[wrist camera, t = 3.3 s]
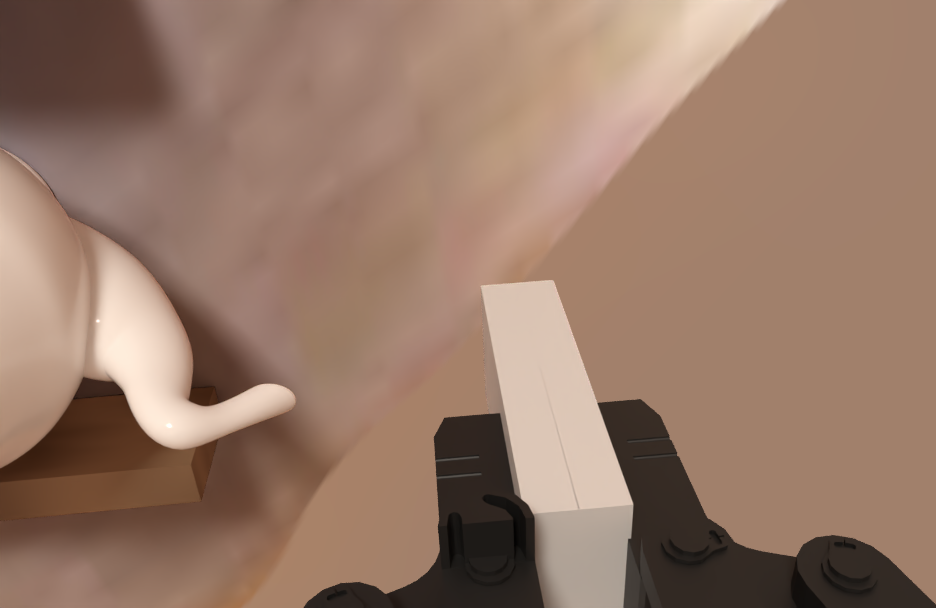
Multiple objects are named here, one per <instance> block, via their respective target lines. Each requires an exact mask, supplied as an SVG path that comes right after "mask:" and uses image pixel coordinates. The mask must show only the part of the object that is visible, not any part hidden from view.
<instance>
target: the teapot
mask: <svg viewBox="0 0 936 608" xmlns="http://www.w3.org/2000/svg"><path fill="white" fill-rule="evenodd" d="M83 377H84V378H89V379H94V380H100V381H109V382H115V383H116V384H117V385H118V386H119V387H120V388H121V389H122V390H123V392H124V394H125V396H126V399H127V402H128V404H129V407H130V409H131V411H132V414H133V416H134V417H135V419H136V421H137V422H138V424H139V425H140V427H141V428H142V429H143V431H144V432H145V433H146V434H147V435H148V436H149V437H150V438H152V439H153V440H154V441H155V442H157V443H159V444H161V445H163V446H164V447H168V448H171V449H177V450H185V449H191V448H195V447H198V446H201V445H204V444H207V443H209V442H212V441H214V440H216V439H218V438H221V437H223V436H225V435H228V434H230V433H233V432H235V431H238V430H240V429H243V428H246V427H248V426H251V425H253V424H256V423H259V422H261V421H264V420H267V419H270V418H272V417H275V416H278V415H281V414H283V413H286V412H288V411H290V410H291V409H292V408H293V407H294V406H295V404H296V397H295V395H294V393H293V392H292V391H291V390H289V389H288V388H286V387H284V386H281V385H277V384H261V385H257V386H254V387H252V388H250V389H248V390H247V391H245V392H243V393H241V394H239V395H237V396H235V397H233V398H231V399H228V400H226V401H224V402H221V403H218V404H215V405H212V406H201V405H198V404H195V403H192V402H190V401H189V397H190V391H191V385H192V377H193V354H192V348H191V345H190V341H189V338H188V336H187V333H186V331H185V328H184V326H183V324H182V322H181V320H180V318H179V316H178V314H177V312H176V311H175V309H174V307H173V305H172V303H171V302H170V300H169V298H168V297H167V295H166V294H165V292H164V290H163V289H162V288H161V286H160V285H159V283H158V282H157V281H156V279H155V278H154V277H153V275H152V274H151V273H150V272H149V271H148V270H147V269H146V268H145V266H144V265H143V264H142V263H141V262H140V261H139V260H138V259H137V258H135V257H134V256H133V255H132V254H131V253H129V252H128V251H127V250H126V249H125V248H123V247H122V246H120V245H119V244H117V243H116V242H114V241H113V240H111V239H110V238H108V237H107V236H105V235H103V234H102V233H100V232H98V231H96V230H95V229H93V228H91V227H89V226H87V225H85V224H83V223H81V222H79V221H77V220H75V219H73V218H70V217H68V215H67V213H66V212H65V210H64V209H63V208H62V206H61V205H60V203H59V202H58V201H57V199H56V198H55V197H54V195H53V193H52V191H51V190H50V188H49V187H48V185H47V184H46V183H45V181H44V180H43V179H42V178H41V177H40V175H39V174H38V173H37V172H36V171H35V170H33V169H32V168H31V167H30V166H29V165H28V164H26V163H25V162H24V161H22V160H21V159H20V158H18V157H17V156H15V155H13V154H12V153H10V152H8V151H6V150H4V149H2V148H0V468H2V467H4V466H6V465H8V464H10V463H11V462H13V461H15V460H16V459H18V458H19V457H21V456H22V455H24V454H25V453H26V452H28V451H29V450H30V449H32V448H33V447H34V446H35V445H36V444H37V443H39V442H40V441H41V440H42V439H43V438H44V437H45V436H46V435H47V434H48V433H49V432H50V431H51V429H52V428H53V427H54V426H55V425H56V423H57V422H58V421H59V420H60V418H61V417H62V416H63V414H64V413H65V411H66V410H67V408H68V406H69V405H70V403H71V401H72V400H73V398H74V396H75V394H76V392H77V390H78V388H79V386H80V384H81V382H82V379H83Z"/></svg>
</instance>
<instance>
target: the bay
mask: <svg viewBox="0 0 936 608" xmlns="http://www.w3.org/2000/svg"><path fill="white" fill-rule="evenodd" d="M189 401H190V402H192V403H195V404H198V405H201V406H212V405H215V404H218V400H217V396H216V392H215V387H205V388H193V389H191V391H190V397H189ZM217 441H218V439H216V440H214V441H212V442H209V443H207V444H204V445H201V446H198V447H195V448H191V449H185V450H177V449H171V448H168V447H164V446H163V445H161V444H159V443H157V442H155V441H154V440H153V439H152V438H150V437H149V436H148V435H147V434H146V433H145V432H144V431H143V429H142V428H141V427H140V425H139V424H138V422H137V421H136V419H135V417H134V416H133V414H132V411H131V409H130V407H129V404H128V402H127V399H126V396H125V395H115V396H104V397H92V398H81V399H73V400H72V401H71V403H70V405H69V406H68V408H67V410H66V411H65V413H64V414H63V416H62V417H61V418H60V420H59V421H58V422H57V423H56V425H55V426H54V427H53V428H52V429H51V431H50V432H49V433H48V434H47V435H46V436H45V437H44V438H43V439H42V440H41V441H40V442H39V443H37V444H36V445H35V446H34V447H33V448H32V449H30V450H29V451H28V452H26V453H25V454H24V455H22V456H21V457H19V458H18V459H16V460H15V461H13V462H11V463H10V464H8V465H6V466H4V467H2V468H0V521H5V520H15V519H26V518H36V517H46V516H57V515H67V514H77V513H88V512H98V511H108V510H119V509H129V508H140V507H150V506H160V505H171V504H181V503H191V502H201V500H202V497H203V493H204V489H205V486H206V482H207V478H208V474H209V471H210V467H211V463H212V460H213V456H214V452H215V449H216V445H217Z"/></svg>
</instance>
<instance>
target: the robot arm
mask: <svg viewBox="0 0 936 608" xmlns="http://www.w3.org/2000/svg"><path fill="white" fill-rule="evenodd" d="M481 300H482V322H483V345H484V366H485V390H486V398H487V405H488V411H489V414H483V415H472V416H460V417H448V418H444V420H443V422H442V424H441V425H440V427H439V429H438V431H437V433H436V434H435V436H434V443H435V444H434V445H435V461H436V476H437V492H438V507H439V524H438V533H439V544H440V552H439V555H438V557H437V559H436V562H435V563H434V565H433V566H432V567H431V568H430V570H429V571H428V572H427V573H426V574H425V575H423V576H422V577H421V578H420V579H418V580H417V581H415V582H413V583H411V584H410V585H407V586H405V587H403V588H400V589H398V590H395V591H393V592H390V593H388V594H384V593H383V592H382V591H381V590H379V589H378V588H377V587H375V586H371V585H368V584H364V583H360V582H354V583H340V584H338V585H335V586H332V587H329V588H327V589H324V590H322V591H321V592H320V593H318V594H317V595H316V596H314V597H313V598H312V599H311V600H309V601H308V602H307V603H306V605H305V607H304V608H936V604H935V603H934V602H932V601H931V599H929V598H928V597H927V596H926V595H925V594H924V593H923V592H922V591H921V590H920V589H919V588H918V587H917V586H916V585H915V584H914V583H913V582H912V581H911V580H910V579H909V578H908V577H907V576H906V575H905V574H904V573H903V572H902V571H901V570H900V569H899V568H898V567H897V566H896V565H895V564H894V563H893V562H892V561H891V560H890V559H889V558H887V557H886V556H884V555H883V554H882V553H880V552H879V551H878V550H876V549H875V548H874V547H872V546H870V545H868V544H865V543H863V542H861V541H858V540H856V539H853V538H848V537H841V536H835V535H831V536H823V537H816V538H814V539H812V540H810V541H809V542H807V543H805V544H803V546H802V547H801V549H800V551H799V553H798V555H797V557H793V556H786V555H780V554H773V553H768V552H762V551H758V550H754V549H749V548H746V547H744V546H742V545H739V544H737V543H735V542H734V541H733V540H732V539H731V537H730V536H729V534H728V533H727V532H726V530H725V529H724V528H722V527H721V526H719V525H717V524H716V523H714V522H713V521H712V520H710V519H708V518H707V516H706V515H705V513H704V510H703V508H702V506H701V504H700V502H699V500H698V497H697V495H696V493H695V491H694V489H693V486H692V484H691V482H690V480H689V478H688V476H687V473H686V471H685V469H684V467H683V465H682V463H681V460H680V458H679V457H677V452H676V449H675V448H674V445H673V443H672V441H671V440H670V439H669V434H668V432H667V430H666V427H665V425H664V423H663V421H662V419H661V417H660V415H658V414H657V413H656V412H655V411H654V410H653V409H651V408H650V407H649V406H648V405H647V404H646V403H644V402H643V401H642V400H641V399H638V400H626V401H614V402H603V403H597V401H596V398H595V396H594V393H593V390H592V387H591V384H590V382H589V379H588V376H587V373H586V370H585V368H584V365H583V362H582V359H581V356H580V354H579V351H578V348H577V345H576V342H575V340H574V337H573V334H572V331H571V328H570V326H569V323H568V320H567V317H566V314H565V312H564V309H563V306H562V303H561V301H560V298H559V295H558V293H557V289H556V286H555V284H554V281H553V280H547V281H535V282H522V283H509V284H496V285H483V286H481Z"/></svg>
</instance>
